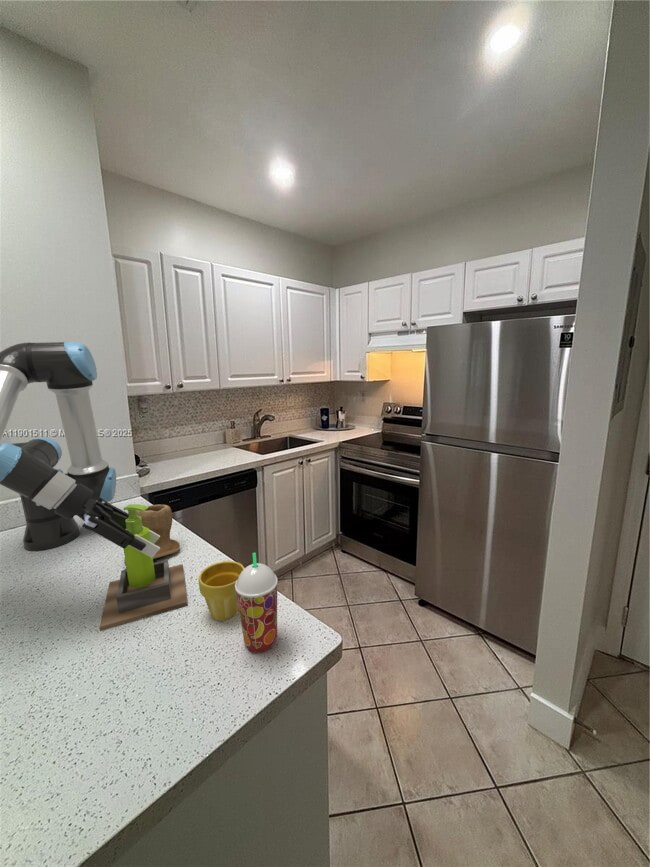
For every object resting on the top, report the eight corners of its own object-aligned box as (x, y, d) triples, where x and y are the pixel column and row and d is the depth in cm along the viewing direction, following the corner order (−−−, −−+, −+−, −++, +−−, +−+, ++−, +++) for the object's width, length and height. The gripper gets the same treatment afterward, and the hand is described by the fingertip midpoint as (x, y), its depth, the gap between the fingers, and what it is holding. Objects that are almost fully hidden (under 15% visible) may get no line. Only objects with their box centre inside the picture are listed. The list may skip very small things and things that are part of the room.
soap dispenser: (148, 589, 84) (137, 512, 80) (123, 586, 85) (111, 510, 81) (164, 575, 90) (154, 501, 85) (140, 572, 91) (129, 499, 87)
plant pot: (256, 600, 85) (253, 564, 83) (232, 631, 76) (228, 590, 74) (220, 592, 89) (216, 557, 87) (192, 621, 79) (187, 582, 77)
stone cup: (175, 539, 117) (170, 496, 114) (182, 555, 107) (176, 509, 104) (123, 553, 109) (116, 508, 106) (125, 572, 99) (117, 522, 96)
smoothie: (243, 628, 76) (235, 544, 72) (282, 625, 77) (276, 541, 73) (237, 660, 68) (228, 567, 64) (280, 656, 69) (274, 563, 65)
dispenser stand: (110, 585, 93) (107, 568, 92) (183, 567, 100) (181, 551, 99) (99, 631, 77) (96, 610, 76) (187, 605, 84) (185, 586, 83)
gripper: (63, 496, 85) (147, 542, 95) (39, 527, 69) (144, 579, 78) (85, 471, 87) (166, 519, 96) (67, 496, 70) (167, 551, 79)
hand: (156, 546), depth 87 cm, fingers closed on soap dispenser, 6 cm apart
